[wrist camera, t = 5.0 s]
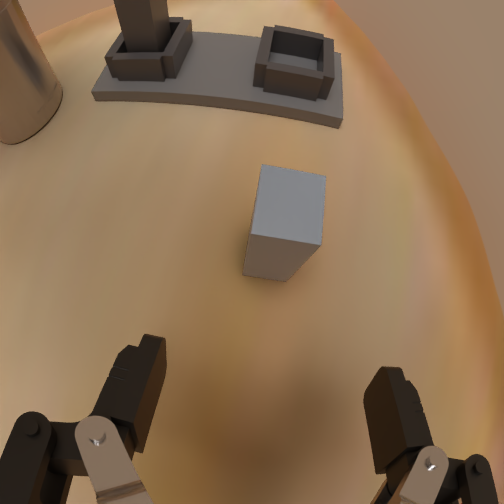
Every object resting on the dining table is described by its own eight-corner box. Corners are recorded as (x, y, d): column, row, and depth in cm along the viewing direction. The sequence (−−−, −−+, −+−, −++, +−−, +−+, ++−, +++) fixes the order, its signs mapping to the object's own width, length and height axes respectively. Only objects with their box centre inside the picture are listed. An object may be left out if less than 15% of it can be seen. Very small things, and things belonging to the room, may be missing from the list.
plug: (242, 275, 23) (251, 233, 14) (249, 228, 24) (261, 164, 15) (285, 281, 24) (321, 245, 14) (291, 235, 24) (325, 176, 15)
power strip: (95, 100, 27) (59, 20, 16) (130, 41, 30) (112, -33, 19) (338, 128, 28) (380, 41, 17) (337, 62, 30) (365, -15, 20)
